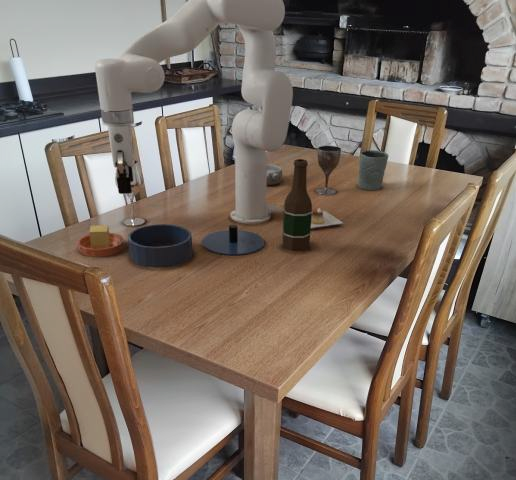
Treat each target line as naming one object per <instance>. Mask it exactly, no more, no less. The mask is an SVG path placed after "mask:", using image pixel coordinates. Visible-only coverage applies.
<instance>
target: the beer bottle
mask: <svg viewBox="0 0 516 480" xmlns="http://www.w3.org/2000/svg"><path fill="white" fill-rule="evenodd" d="M293 166H294V168H293V175H292V184H291V189H290V191H289V193H288V194H287V196H286V197H285V200H284V204H283V218H282V235H281V236H282V239H281V241H282V248H283V249H284V250H287V251H291V252H304V251H306V250H308V249H310V241H311V230H312V229H311V218H312V212H313V203H312V200H311V197H310V195H309V194H308V189H307V175H308V173H307V171H308V170H307V169H308V168H307V167H308V166H309V164H308V160H307V159H304V158H297V159H294V161H293Z"/></svg>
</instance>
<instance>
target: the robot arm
mask: <svg viewBox="0 0 516 480" xmlns="http://www.w3.org/2000/svg"><path fill="white" fill-rule="evenodd" d="M285 15H286V7H285V4H284V1H283V0H187V1H186V2H185V3H184V4H183V5H182V6H181V7H180V8H179V9H178V10H177V11H176V12H175V13H174V14H172V16H170V18H168V19H166V20H165V21H163V22H161V23H160V24H158V25H157V26H155V27H154V28H152V29H151V30H149V31H147V32H145V33H144V34H143V35H141V36H140V37H138V38H137V39H136V40H135V41H134V42H133V43H132V44H131V45H130V46H129V47H128V48H127V49H126V50H125V51H123V52H122V54H121V55H120V56H119V58H102V59H98V60H97V61H96V62H95V64H94V71H95V78H96V86H97V92H98V93H97V94H98V99H99V107H100V116H101V121H102V125H103V126H107V131H108V138H109V147H110V152H111V159H112V164H113V167H114V168H117V185H118V188H117V191H118V194H119V195H122V194H124V195H125V194H129V193H131V192H132V190H131V182H133V172H132V167H133V166H134V163H135V160H136V155H135V147H134V140H133V132H132V126H131V125H134V124H135V118H134V117H135V115H134V107H133V98H132V93H145V94H151V93H154V92H157V91H159V90H160V89H161V87H162V86H163V85H164V82H165V79H166V78H165V77H166V75H165V71H164V69H163V66H162V65H161V64H160V63H162V62H163V61H166V60H167V59H171V58H173V57H177V56H181V55H184V54H187V53H190V52H192V51H194V50H195V49H196V48H197V47H198V46H199V45H200V44H201V43H202V42H203V41H204V40H205V39H207V37H208V36H210V34H212V32H213V31H214V30H215V29H216V28H217V27H218V26H219V25H220V24H232V25H236V27H237V28H238V29H239V31H240V33H241V35H242V38H243V41H244V61H243V71H242V79H241V88H240V89H241V90H240V92H241V97H242V99H243V100H244V101H245V102H247V104H250V105H253V106H257V107H261V111H259V110H255V109H242V110H241V111H239V112H238V113H236V115H235V116H234V118H233V120H232V123H231V136H232V141H233V147H234V157H235V158H234V159H235V161H234V163H235V165H234V166H235V167H234V168H235V169H234V171H235V172H234V173H235V174H234V175H235V176H234V177H235V178H234V179H235V189H234V190H235V199H234V201H235V202H234V203H235V206H234V207H235V209H234V210H233V211H231V212H230V218H231V220H233V221H235V222H237V223H242V224H251V225H252V224H253V225H254V224H261V223H265V222H267V221H269V220H271V217H272V216H271V215H272V214H273V213H275V214H277V213H278V214H279V213H280V214H281V212H282V207H281V206H278V205H277V206H276V204H269V203H267V186H268V185H267V164H268V156H267V152H276V151H278V150H280V149H281V148H282V146H283V145H284V143H285V141H286V139H287V136H288V131H289V124H290V119H291V118H290V117H291V111H292V104H293V98H294V89H293V85H292V81H291V79H290V77H289V76H288V75H287V74H285V73H284V72H282V71H279V70H276V60H277V41H276V37H275V34H274V31H275V30H277V29H278V28H279V27H280V26H281V25H282V23H283V21H284V19H285Z"/></svg>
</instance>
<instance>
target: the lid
mask: <svg viewBox="0 0 516 480" xmlns="http://www.w3.org/2000/svg"><path fill="white" fill-rule="evenodd" d="M238 227H239V226H238V225H237V224H229V225H228V229H226V230H219V231H213V232H211V233H209V234H207V235H205V236H204V237H203V239H202V241H201V244H202V247H203V248H204V250H207V251H208V252H210V253H213V254H217V255H221V256H233V257H234V256H245V255H246V256H247V255H251V254H254V253H257V252H259V251H261V250H262V249H263V247H264V246H265V240H264V238H263V237H262V236H261V235H259V234H257V233H255V232H252V231H247V230H241V229H239V228H238Z"/></svg>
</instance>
